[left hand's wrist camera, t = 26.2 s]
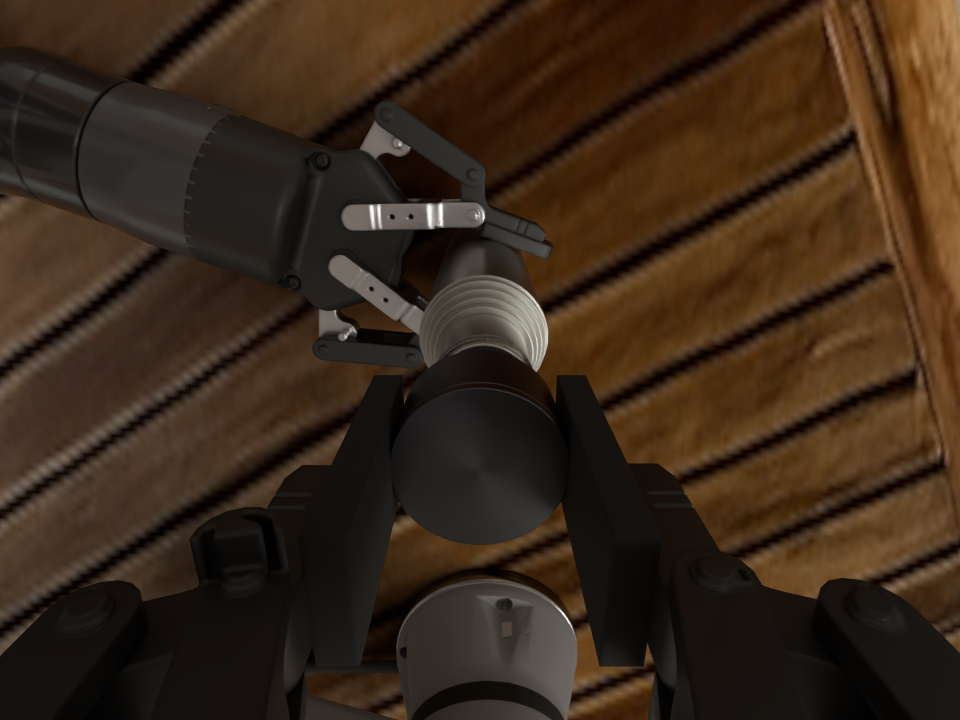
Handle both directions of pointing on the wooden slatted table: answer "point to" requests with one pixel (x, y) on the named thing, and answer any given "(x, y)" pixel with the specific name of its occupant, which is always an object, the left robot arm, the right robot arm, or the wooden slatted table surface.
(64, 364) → the wooden slatted table surface
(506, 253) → the bottle
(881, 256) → the wooden slatted table surface
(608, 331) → the wooden slatted table surface
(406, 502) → the cap
